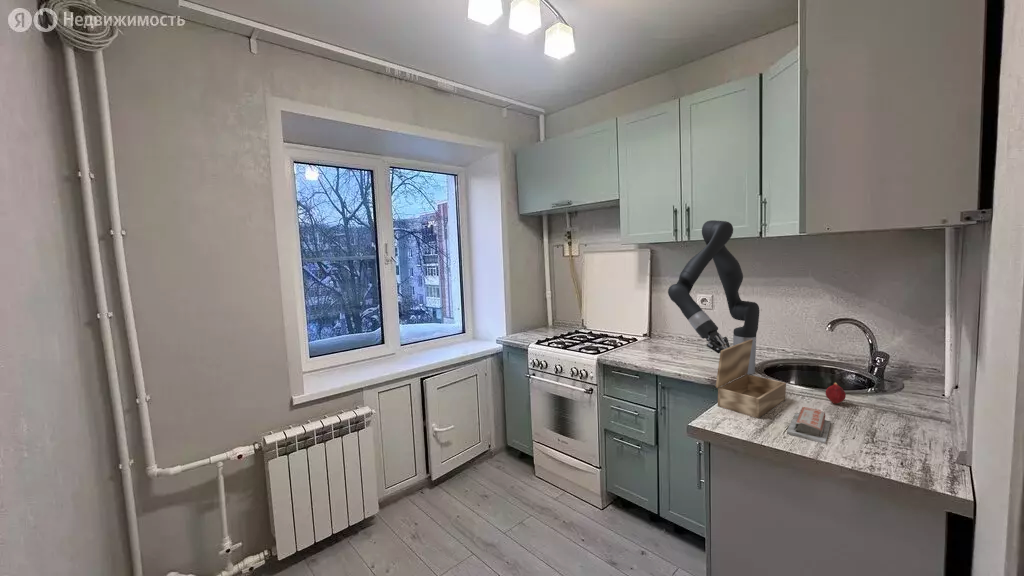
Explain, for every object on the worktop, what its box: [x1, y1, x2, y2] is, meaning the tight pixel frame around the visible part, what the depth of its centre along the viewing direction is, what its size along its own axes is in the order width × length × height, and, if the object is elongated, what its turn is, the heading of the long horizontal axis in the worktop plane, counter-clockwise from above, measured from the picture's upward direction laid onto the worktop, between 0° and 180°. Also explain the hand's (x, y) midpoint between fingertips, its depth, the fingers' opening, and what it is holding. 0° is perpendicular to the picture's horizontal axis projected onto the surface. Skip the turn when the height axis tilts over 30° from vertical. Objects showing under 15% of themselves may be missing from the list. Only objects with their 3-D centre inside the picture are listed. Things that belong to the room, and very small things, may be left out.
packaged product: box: [786, 406, 832, 444], centre depth 131 cm, size 18×5×10 cm
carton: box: [717, 374, 787, 419], centre depth 152 cm, size 14×24×7 cm, turn 127°
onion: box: [825, 382, 847, 405], centre depth 150 cm, size 6×6×8 cm
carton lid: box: [715, 339, 753, 389], centre depth 156 cm, size 14×25×1 cm
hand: (732, 360), depth 157 cm, fingers closed
